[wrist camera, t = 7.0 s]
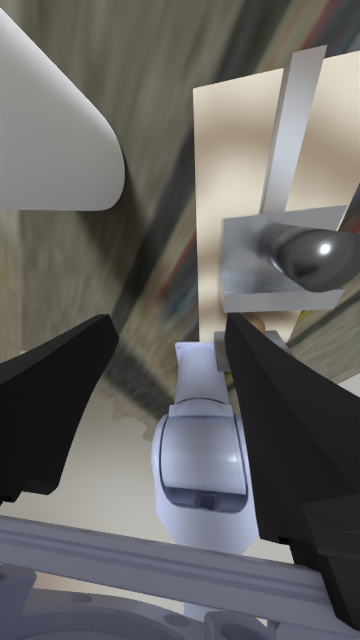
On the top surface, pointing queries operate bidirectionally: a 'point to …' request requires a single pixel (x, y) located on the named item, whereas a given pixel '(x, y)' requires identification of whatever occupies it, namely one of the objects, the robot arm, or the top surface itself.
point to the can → (51, 135)
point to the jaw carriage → (286, 260)
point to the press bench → (271, 163)
